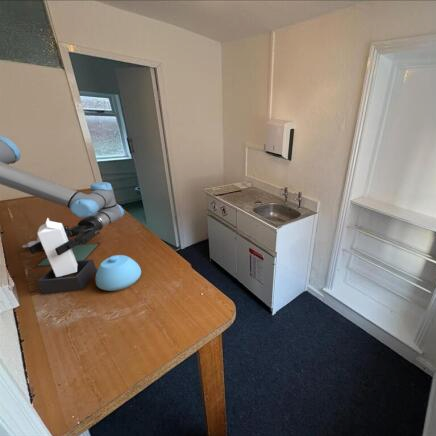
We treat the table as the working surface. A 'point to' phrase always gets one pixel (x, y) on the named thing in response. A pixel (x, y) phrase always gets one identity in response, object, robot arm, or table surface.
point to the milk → (51, 239)
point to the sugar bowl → (117, 273)
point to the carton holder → (68, 279)
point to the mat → (75, 253)
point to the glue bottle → (32, 243)
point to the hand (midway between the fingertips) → (44, 251)
